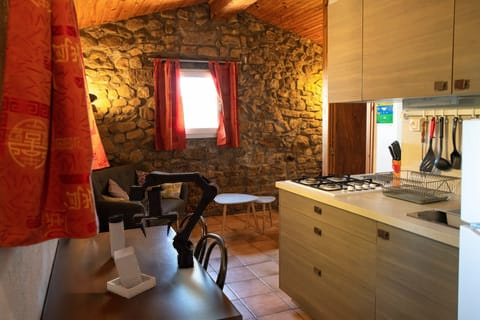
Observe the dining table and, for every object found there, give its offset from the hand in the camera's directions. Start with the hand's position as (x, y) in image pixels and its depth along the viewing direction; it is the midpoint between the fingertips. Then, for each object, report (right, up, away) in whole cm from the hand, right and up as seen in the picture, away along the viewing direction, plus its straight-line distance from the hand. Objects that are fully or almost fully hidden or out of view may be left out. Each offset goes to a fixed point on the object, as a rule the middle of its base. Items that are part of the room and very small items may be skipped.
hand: (156, 236), depth 162 cm
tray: (-5, -15, -19) cm, 25 cm away
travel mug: (-21, -12, +15) cm, 29 cm away
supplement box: (-5, -14, -18) cm, 23 cm away
